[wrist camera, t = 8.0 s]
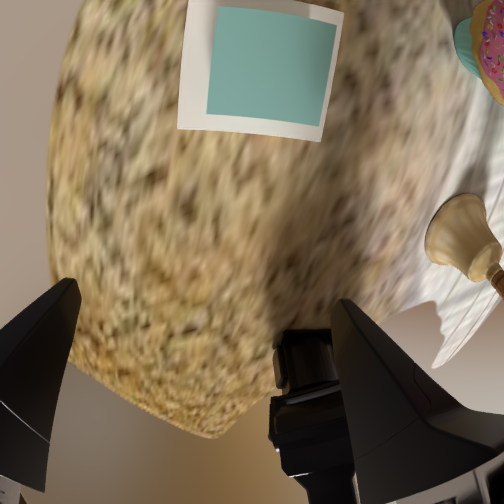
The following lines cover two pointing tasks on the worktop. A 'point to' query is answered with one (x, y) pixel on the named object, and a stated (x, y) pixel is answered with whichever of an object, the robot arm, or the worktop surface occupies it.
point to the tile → (199, 64)
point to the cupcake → (484, 45)
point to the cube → (269, 65)
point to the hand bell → (466, 241)
